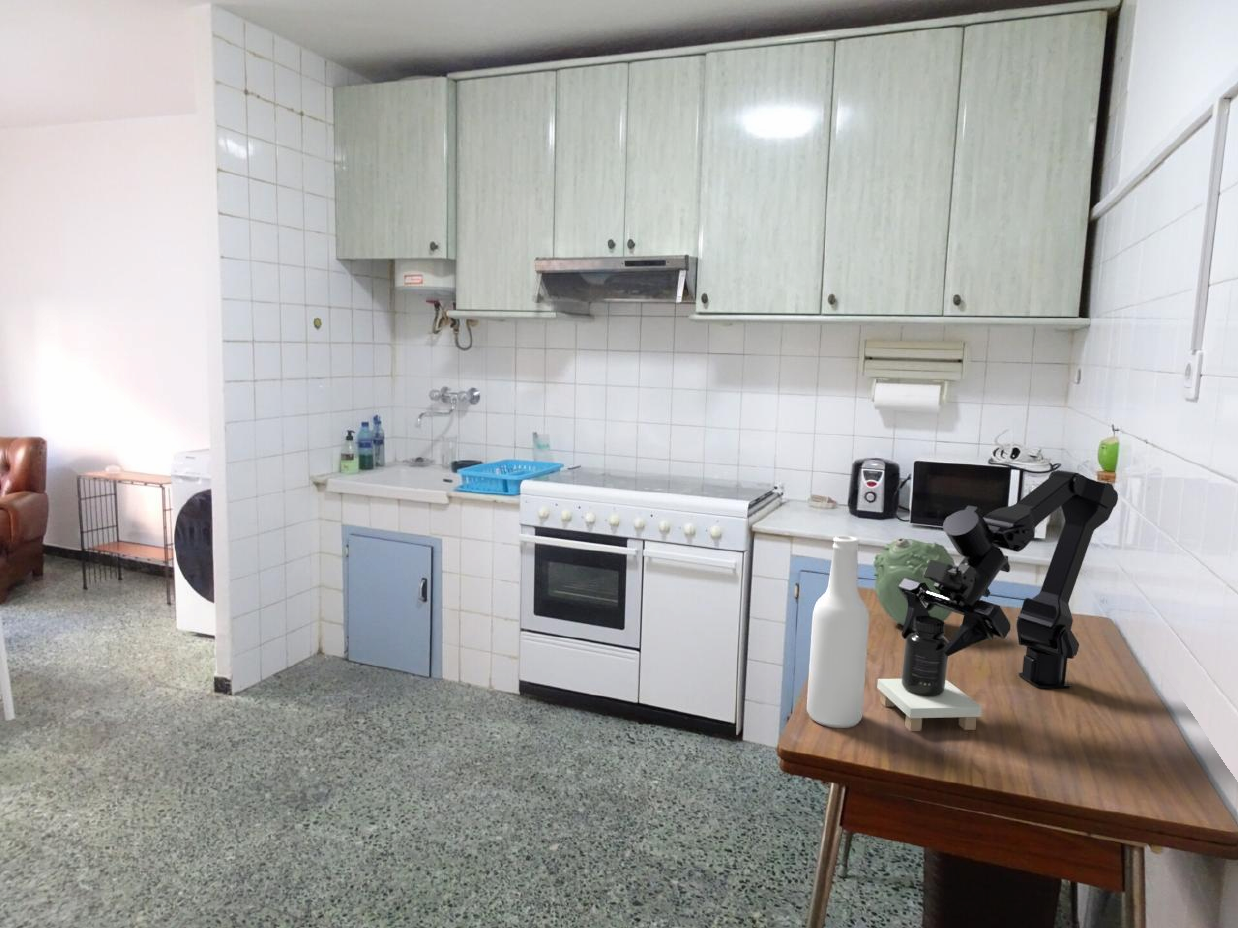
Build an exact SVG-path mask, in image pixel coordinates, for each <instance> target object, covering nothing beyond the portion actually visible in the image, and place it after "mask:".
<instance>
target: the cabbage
mask: <svg viewBox="0 0 1238 928" xmlns="http://www.w3.org/2000/svg"><path fill="white" fill-rule="evenodd" d="M883 549H884V550H882V551H881V554H876V555H875V556H874V561H873V567H874V568H875V573H874V574H873V575H872V576H874V578H875V579H874V580H875V583H874V590H875V593H876V597H877V599H878V602H879V603H880V605H881V608H883V610H884V612H885V613H886V614H887V616H889V618H890V619H891V620H893V621H894V622H896V623H898V624H900V625H902V626H903V627H904V623H905V619H906V615H907V609H908V602H907V600H906V599H905V597H904V596H903V595H902V593H901V592H900V590H899V589H898V586H899V585H900V583H901V582H902V581H903V579H904V578H912V579H916V580H919V581H922V582H925V583H926V585H927V586H928V588H929V589H930V591H931V592H932V593H935V594H938V595H939V590H936V589H935V587H934V584H935V582H934V581H932V580H931V579H929V578H925V577H924V574H925V572H926V569H927V567H928V564H929V562H930V559H932V560H936V561H940V562H943V563H947V564H950V565H956V564H955V562H954V558H953V557H952V555H951V554H950V553H948V550H947V549H946V547H945V546H944V545H943V544H939V543H937V542H933V543H931V542H924V541H920V540H917V539H912V538H911V539H910V538H895V539H893V540H892V541H890V543H886V545H885V546H884V547H883ZM928 613H929V614H930V616H932V617H936V618H939V619H941V620H943V621H944V622H945V621H946V620H947V619H948V618H949V617H950V616H951V615H952V614H953V612H952V611H949V610H946V609H944V608H941V607H938V606H934V607H933V608H932V610H929V611H928Z"/></svg>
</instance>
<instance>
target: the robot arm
mask: <svg viewBox="0 0 1238 928" xmlns="http://www.w3.org/2000/svg"><path fill="white" fill-rule="evenodd" d="M1118 501H1119V495H1118V491H1117V490H1116V489H1115V488H1114V485H1113V484H1112V483H1109V482H1105V481H1098V480H1094V479H1091V478H1088V477H1087V476H1085V475H1083V474H1081V473H1079V472H1075V471H1067V470H1059V469H1057V470H1054V471H1051V473H1050V474H1049V476H1048V478H1047V479H1045V481H1043V482H1042V483H1041V484H1039V485H1038V486H1037V487H1035V488H1034V489H1033V490H1031V491H1030V492H1029V493H1028V494H1026V495H1025V496H1024V497H1023V498H1021V499H1020V500H1018V502H1016V503H1014V504H1013V505H1010V506H1009V505H1008V506H1004V507H1000V508H999V507H998V508H996V509H995V510H992V511H991V512H989V513H986V514H985V515H984V516H983V513H982V510H981V509H980V508H979V507H978V506H973V505H967V506H966V507H965V509H962V510H958V511H955V512H954V513H952V514H950V515H948V516H946V518H945V520H944V521H943V525H942V528H943V531H944V532H945V534H946V536H947V537H948V539H949V541H950V542H951V544H952V546H953V548H954V549H955V550H956V552H957V553H958V554H959V555H960V556H962V557H964V558H963V559H962V560H961V561H960V563H959V564H958V565H956V564H955V565H950V564H947V563H943V562H940V561H936V560H932V559H930V562H929V564H928V567H927V569H926V572H925V574H924V577H925V578H929V579H931V580H932V581H934V582H935V584H934V587H935V589H936V590H939V595H938V594H935V593H932V592H931V591H930V589H929V588H928V586H927V585H926V583H925V582H922V581H919V580H916V579H912V578H904V579H903V581H902V582H901V583H900V585H899V586H898V589H899V590H900V592H901V593H902V595H903V596H904V597H905V599H906V600H907V602H908V609H907V615H906V619H905V623H904V626H903V628H902V633H901V637H902V638H903V640H906V637H907V635H908V634H909V633H910V632H912V631H914V630H913V625H914V618H915V617H917V616H930V614H929V613H928V611H929V610H932V608H933V607H934V606H938V607H941V608H944V609H946V610H949V611H952V613H955V614H959V615H962V616H963V619H962V622H961V625H960V626H959V627H958V629H957V631H956V632H955V633H954V635H953V637H952V638H951V639H950V640H949V641H948V642H949V643H948V645H947V647H946V649H945V651H944V653H945V654H946V656H948V657H950V656H952V655H953V654H956V653H959V652H960V651H963V650H964V649H966V648H967V647H971V646H972V645H975V644H978V643H980V642H982V641H985V640H988V639H989V640H993V639H994V638H999V639H1001V640H1004V639H1005V638H1006V637H1007V636H1008V634H1009V633H1010V631H1011V622H1010V620H1009V619H1008V617H1007V615H1006V614H1005V613H1004V610H1003V609H1002V607H1001V606H1000V605H998V604H996V603H991V602H988V601H986V600H982V597H985V598H989V596H990V594H991V591H990V589H989V587H990V586H991V584H992V582H993V581H994V580H995V578H996V577H997V576H998V574H999V572H1000V571H1001V572H1005V573H1010V571H1011V565H1010V563H1009V556H1008V555H1005V554H1004V553H1003V551H1002V549H1003V550H1008V551H1012V552H1017V553H1018V552H1022V551H1023V550H1024V549H1025V548H1026V547H1027V546H1028V545H1029V543H1030V542H1031V541H1033V539H1034V538H1035V533H1036V532H1035V531H1036V527H1037V526H1038V525H1039V524H1040V523H1041V522H1043V521H1044V520H1045V519H1047V518H1048V517H1049V516H1050V515H1051V514H1052V513H1054V512H1055V511H1057V510H1058V509H1059V508H1060V507H1061V511H1062V514H1063V518H1064V523H1063V526H1062V529H1061V532H1060V534H1059V537H1058V540H1057V543H1056V546H1055V549H1054V552H1053V554H1052V558H1051V560H1050V563H1049V565H1048V568H1047V571H1046V574H1045V577H1044V579H1043V582H1042V585H1041V587H1040V591H1039V593H1038V594H1036V595H1035V596H1034V597H1033V598H1030V597H1026V598H1025V599H1024V600H1023V603H1022V606H1021V610H1020V611H1019V614H1018V615H1017V620H1016V632H1017V638H1018V640H1017V641H1018V645H1019V646H1024V647H1026V649H1025V651H1026V652H1025V655H1023V660H1022V661H1023V662H1022V669H1021V670H1022V671H1021V672H1018V676H1019V677H1020V678H1022V679H1023V680H1025V681H1027V682H1028V683H1030V684H1031V685H1033V686H1035V687H1036V688H1038V689H1065V688H1066V689H1068V688H1070V689H1071V687H1072V686H1071V684H1070V683H1068V682H1067V681H1066V676H1067V666H1068V659H1074V658H1075V656H1077V654H1078V651H1079V648H1080V642H1079V641H1078V639H1077V638H1076V637H1075V635H1074V633H1073V631H1072V630H1071V629H1072V625H1073V621H1074V619H1073V615H1072V613H1071V609H1070V605H1069V604H1070V603H1069V602H1070V599H1071V597H1072V594H1073V591H1074V589H1075V585H1076V583H1077V579H1078V577H1079V574H1080V571H1081V569H1082V566H1083V564H1084V563H1083V562H1084V560H1085V557H1086V554H1087V551H1088V548H1089V546H1090V544H1091V543H1090V542H1091V539H1092V537H1093V534H1094V532H1095V531H1096V530H1097V529H1098V528H1099V527H1101V525H1103V524H1104V523H1106V522H1107V521H1108V520H1109V519H1110V517H1111V514H1112V513H1113V511H1114V508H1115V507H1116V506H1117V504H1118Z"/></svg>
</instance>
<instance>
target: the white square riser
mask: <svg viewBox="0 0 1238 928" xmlns="http://www.w3.org/2000/svg"><path fill="white" fill-rule="evenodd" d="M876 685H877V686H876V688H877V689H878V690H879V691H880V702H879V703H880V704H881V705H882V706H883V707H884V708H885V707H888V708H891V707H897V708H898V709H899V710H900V711H902V712H903V713H904V714H905V724H904V726H905V727H906V728H907V729H908V731H910V732H921V731H922V725H923V724H922V723H923V719H924V718H925V719H929V718H930V719H934V718H935V719H937V718H941V719H942V718H959V719H958V725H959V726H960V727H961V728H962V729H963V730H965V731H967V730H968V731H971V730H972V731H973V730H976V726H977V717H981V718H982V713H983V706H982V705H980V704H979V703H978V702H976V701H975V700H973V699H972V698H971V697H970V696H968V695H967V694H966V693H964V692H963V691H962V690H960V689H959V688H958V687H956V686H955V685H954V684H952V683H951V682H950V681H949V680H947V679H946V681H945V688H944V691H943V693H942V694H940V695H938V696H921V695H917V694H914V693H912V692H909V691H908V690H906V689H905V688H904V687H903V685H902V678H878V679H877V684H876Z"/></svg>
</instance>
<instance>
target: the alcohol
mask: <svg viewBox="0 0 1238 928" xmlns="http://www.w3.org/2000/svg"><path fill="white" fill-rule="evenodd" d="M832 540H833V544H832V549H833V550H832V556H831V557H832V558H831V562H830V568H829V569H830V570H829V576H828V577H829V578H828V582H827V588H826V591H825V592H824V593H823V595H822V596H821V597H819V598H818V600H817V601H816V603H815V605H814V608H813V611H812V618H811V619H812V621H811V636H810V637H811V638H810V653H809V668H808V681H807V697H806V699H807V700H806V712H807V713H808V715H809V718H811V720H812V721H814V722H815V723H818V724H819V725H822V726H825V727H827V728H828V727H829V728H832V729H833V728H834V729H846V728H847V729H848V728H853V727H855V726H857V724H859V722H860V721H861V720H862V718H863V709H864V697H865V696H864V693H865V684H866V681H865V680H866V671H867V670H866V665H867V653H868V641H869V629H870V628H869V627H870V614H869V609H868V606H867V605H866V603H865V602H864V601H863V599H862V598H861V597H860V592H859V578H858V577H859V574H858V573H859V572H858V571H859V569H858V567H859V565H858V559H859V557H858V554H859V553H858V551H859V544H860V540H859V539H858V538H857V537H855V536H850V535H837V536H835V537H833V539H832Z"/></svg>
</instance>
